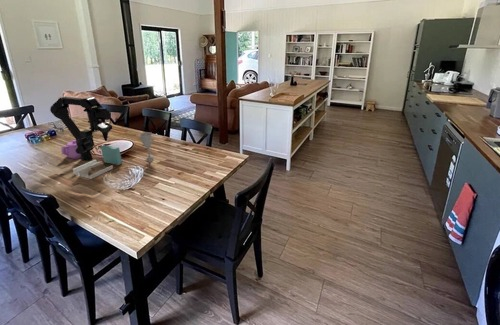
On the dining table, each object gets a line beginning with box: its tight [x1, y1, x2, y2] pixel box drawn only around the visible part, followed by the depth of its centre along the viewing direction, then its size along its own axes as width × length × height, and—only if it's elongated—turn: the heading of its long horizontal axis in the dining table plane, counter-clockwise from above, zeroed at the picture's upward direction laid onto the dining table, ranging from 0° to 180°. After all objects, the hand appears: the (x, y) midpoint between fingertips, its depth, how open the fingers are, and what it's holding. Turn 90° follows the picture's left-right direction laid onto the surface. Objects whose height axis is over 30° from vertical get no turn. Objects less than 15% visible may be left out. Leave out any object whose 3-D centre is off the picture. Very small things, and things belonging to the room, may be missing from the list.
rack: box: [72, 159, 114, 180], centre depth 159 cm, size 14×15×4 cm
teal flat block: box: [100, 144, 123, 166], centre depth 170 cm, size 3×12×11 cm, turn 67°
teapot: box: [60, 139, 81, 160], centre depth 184 cm, size 13×20×11 cm
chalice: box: [139, 131, 155, 163], centre depth 174 cm, size 7×7×18 cm
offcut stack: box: [88, 164, 108, 176], centre depth 158 cm, size 5×10×4 cm, turn 157°
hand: (99, 143), depth 170 cm, fingers open, 9 cm apart
